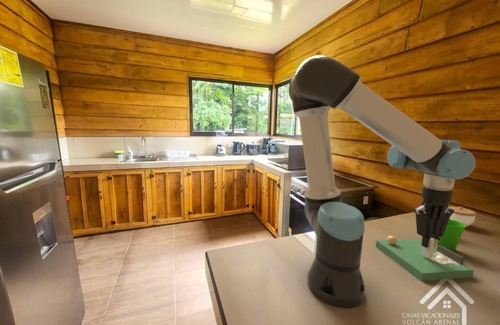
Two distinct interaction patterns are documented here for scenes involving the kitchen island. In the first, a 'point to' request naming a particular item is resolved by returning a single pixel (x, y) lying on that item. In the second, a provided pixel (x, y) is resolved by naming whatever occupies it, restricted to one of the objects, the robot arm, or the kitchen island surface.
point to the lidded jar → (463, 215)
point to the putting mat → (425, 260)
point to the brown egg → (392, 240)
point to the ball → (441, 258)
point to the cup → (452, 235)
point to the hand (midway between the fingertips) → (426, 255)
